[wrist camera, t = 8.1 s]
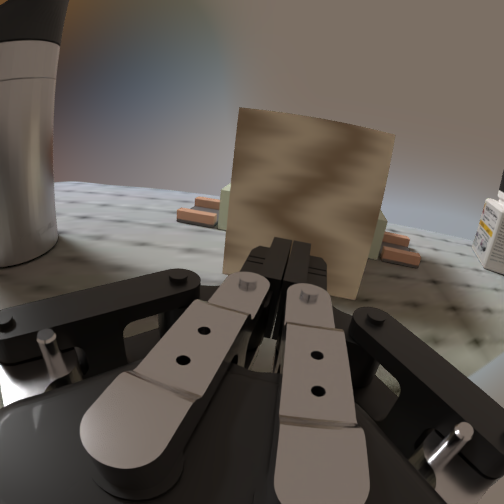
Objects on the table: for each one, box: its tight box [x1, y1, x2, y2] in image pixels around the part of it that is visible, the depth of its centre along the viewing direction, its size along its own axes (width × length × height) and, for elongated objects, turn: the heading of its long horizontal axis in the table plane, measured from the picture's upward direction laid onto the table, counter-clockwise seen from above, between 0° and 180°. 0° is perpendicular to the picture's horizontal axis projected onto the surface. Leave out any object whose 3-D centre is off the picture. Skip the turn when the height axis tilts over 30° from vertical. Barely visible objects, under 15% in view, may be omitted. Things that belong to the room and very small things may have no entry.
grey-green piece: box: [177, 183, 421, 268], centre depth 33 cm, size 25×7×4 cm, turn 78°
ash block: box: [223, 108, 395, 300], centre depth 27 cm, size 10×14×12 cm
